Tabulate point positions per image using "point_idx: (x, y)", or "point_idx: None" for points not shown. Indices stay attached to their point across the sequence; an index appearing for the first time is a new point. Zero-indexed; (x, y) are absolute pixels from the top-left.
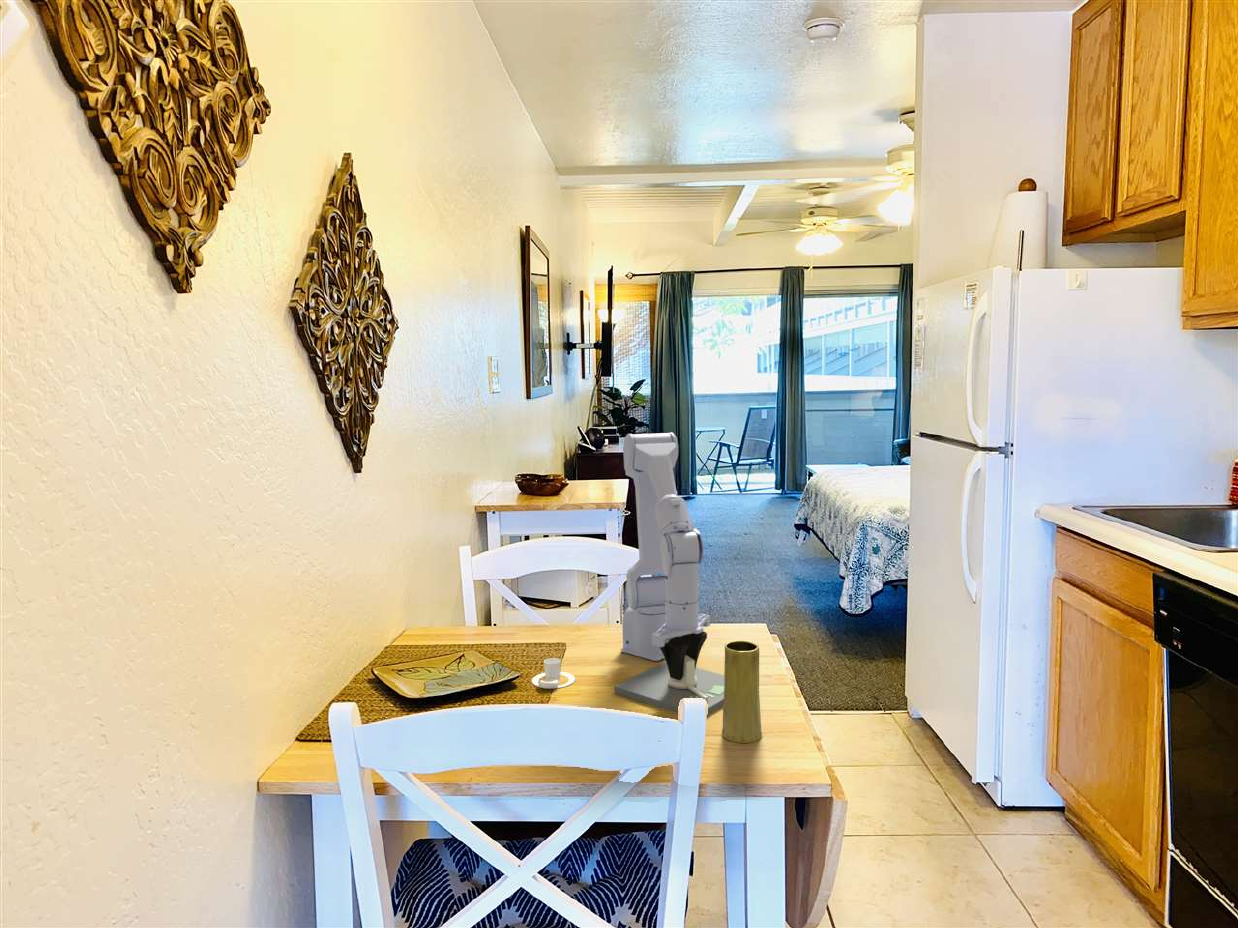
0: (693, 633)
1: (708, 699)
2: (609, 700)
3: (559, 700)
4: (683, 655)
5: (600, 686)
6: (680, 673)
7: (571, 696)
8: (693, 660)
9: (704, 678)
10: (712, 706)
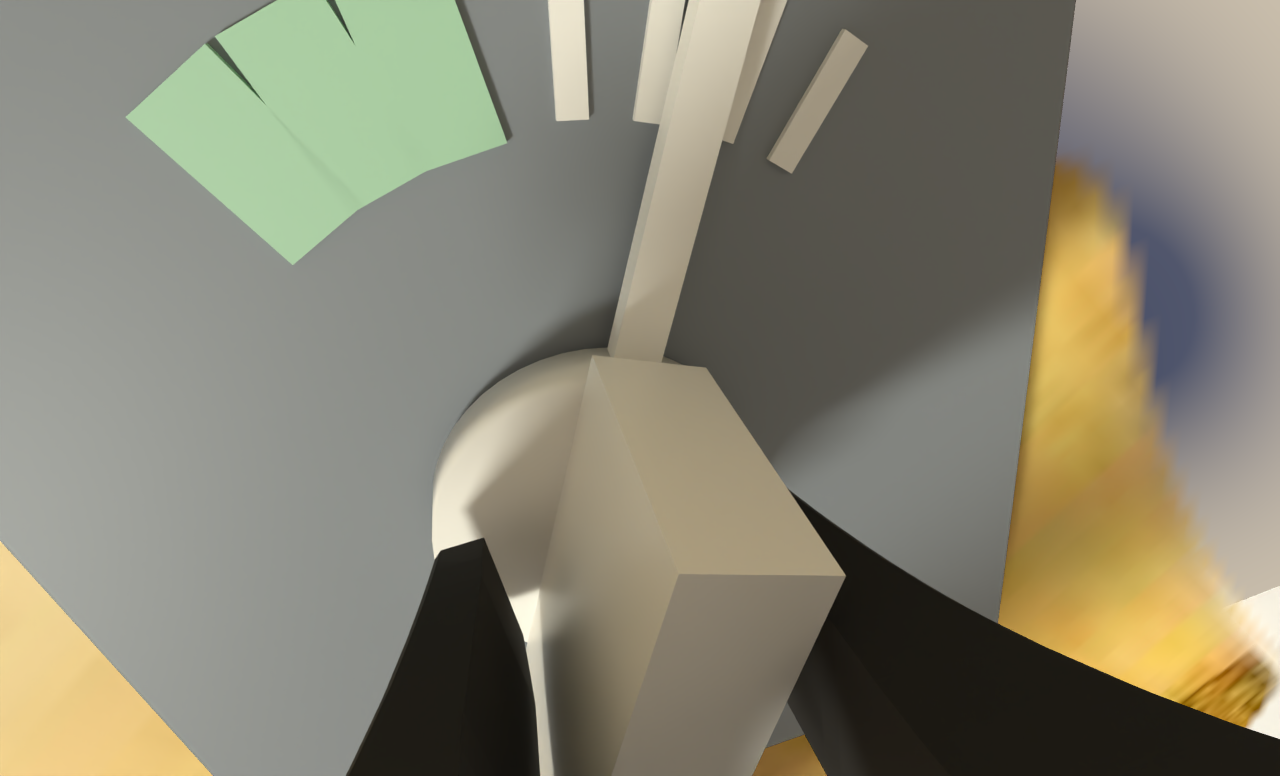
0: None
1: None
2: (1072, 553)
3: (1197, 658)
4: (963, 698)
5: None
6: (794, 496)
7: (1127, 674)
8: (701, 575)
9: (265, 493)
10: None
